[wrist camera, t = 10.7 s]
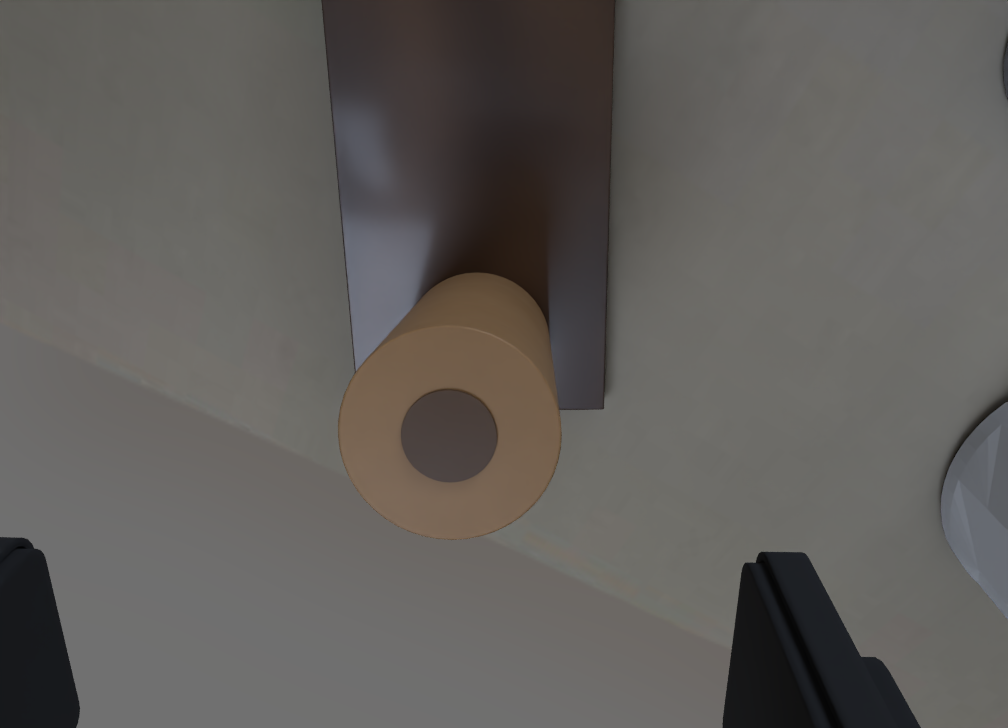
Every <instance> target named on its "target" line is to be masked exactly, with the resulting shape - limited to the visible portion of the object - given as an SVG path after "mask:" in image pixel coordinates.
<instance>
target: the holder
mask: <svg viewBox="0 0 1008 728" xmlns="http://www.w3.org/2000/svg"><path fill="white" fill-rule="evenodd" d="M322 10H323V21H324V33H325V44H326V55H327V66H328V77H329V88H330V99H331V110H332V122H333V133H334V144H335V155H336V166H337V177H338V188H339V199H340V210H341V222H342V233H343V244H344V255H345V266H346V277H347V288H348V299H349V311H350V322H351V333H352V344H353V355H354V366H355V373H356V371H357V370H358V368H359V367H360V366H361V365H362V364H363V362H364V361H365V360H366V359H367V358H368V356H369V355H370V354H371V353H372V352H373V351H374V350H375V349H376V348H377V347H378V346H379V344H380V343H381V342H382V341H383V340H384V339H385V338H386V337H387V336H388V335H389V333H390V332H391V331H392V330H393V329H394V328H395V327H396V326H397V325H398V324H399V322H400V321H401V320H402V319H403V318H404V317H405V316H406V315H407V314H408V313H409V311H410V310H411V309H412V308H413V307H414V306H415V305H416V304H417V303H418V302H419V300H420V299H421V298H422V297H423V296H424V295H425V294H426V293H427V292H428V291H429V290H430V289H431V288H433V287H434V286H436V285H437V284H439V283H440V282H442V281H444V280H446V279H448V278H451V277H453V276H456V275H460V274H465V273H476V272H477V273H488V274H494V275H497V276H500V277H504V278H506V279H508V280H510V281H512V282H514V283H515V284H517V285H519V286H520V287H521V288H523V289H524V290H525V291H526V292H527V293H528V294H529V295H530V296H531V297H532V298H533V299H534V300H535V302H536V303H537V305H538V306H539V307H540V309H541V311H542V313H543V315H544V317H545V320H546V323H547V326H548V331H549V336H550V344H551V351H552V359H553V367H554V374H555V382H556V389H557V397H558V404H559V410H588V409H604V387H605V350H606V314H607V277H608V241H609V204H610V168H611V132H612V95H613V59H614V22H615V0H322Z"/></svg>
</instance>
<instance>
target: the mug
mask: <svg viewBox="0 0 1008 728" xmlns="http://www.w3.org/2000/svg"><path fill="white" fill-rule="evenodd" d="M941 518H942V526H943V529H944V533H945V536H946V539H947V541H948V543H949V545H950V547H951V549H952V551H953V552H954V554H955V555H956V557H957V558H958V560H959V561H960V562H961V564H962V565H963V567H964V568H965V569H966V571H967V572H968V574H969V575H970V576H971V577H972V578H973V579H974V580H975V581H976V582H977V583H978V584H979V585H980V586H981V587H982V589H983V590H984V591H985V592H986V594H987V595H988V596H989V597H990V598H991V600H992V601H993V602H994V603H995V605H996V606H997V607H998V608H999V609H1000V611H1001V612H1002V613H1003V614H1004V616H1005V617H1006V618H1007V619H1008V402H1006V403H1004V404H1003V405H1002V406H1000V407H999V408H998V409H997V410H995V411H994V412H993V413H991V414H990V415H989V416H988V417H987V418H986V419H985V420H984V421H983V422H981V423H980V424H979V425H978V426H977V427H976V428H975V430H974V431H973V432H972V433H971V434H970V436H969V437H968V438H967V439H966V440H965V442H964V443H963V445H962V446H961V448H960V449H959V451H958V452H957V454H956V455H955V457H954V459H953V461H952V463H951V465H950V467H949V470H948V473H947V476H946V478H945V481H944V485H943V491H942V496H941Z"/></svg>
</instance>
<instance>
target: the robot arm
mask: <svg viewBox="0 0 1008 728" xmlns="http://www.w3.org/2000/svg"><path fill="white" fill-rule="evenodd" d="M79 712H80V706H79V700H78V696H77V691H76V688H75V683H74V679H73V675H72V670H71V666H70V661H69V657H68V653H67V648H66V644H65V640H64V636H63V632H62V627H61V623H60V618H59V615H58V610H57V606H56V601H55V597H54V593H53V588H52V584H51V580H50V576H49V571H48V567H47V563H46V559H45V556H44V554H43V553H42V551H40V550H38V549H34V547H33V545H32V543H31V542H30V541H29V540H28V539H25V538H7V537H0V728H76V726H77V724H78V719H79ZM723 728H921V727H920V726H919V724H918V722H917V720H916V718H915V717H914V715H913V713H912V711H911V710H910V708H909V706H908V704H907V702H906V701H905V699H904V697H903V695H902V693H901V692H900V690H899V688H898V686H897V685H896V683H895V681H894V679H893V677H892V676H891V674H890V672H889V670H888V669H887V668H886V666H885V665H884V663H883V662H882V661H880V660H879V659H877V658H876V657H861V656H860V654H859V652H858V651H857V649H856V647H855V645H854V643H853V641H852V639H851V637H850V635H849V633H848V632H847V630H846V628H845V626H844V624H843V622H842V620H841V618H840V616H839V615H838V613H837V611H836V609H835V607H834V605H833V603H832V601H831V599H830V597H829V596H828V594H827V592H826V590H825V588H824V586H823V584H822V582H821V580H820V579H819V577H818V575H817V573H816V571H815V569H814V567H813V565H812V563H811V562H810V560H809V558H808V557H807V555H806V554H805V553H800V552H761V553H759V555H758V557H757V560H756V563H745V564H744V565H743V568H742V573H741V581H740V589H739V597H738V605H737V612H736V620H735V628H734V636H733V644H732V652H731V660H730V668H729V675H728V683H727V691H726V699H725V707H724V715H723Z"/></svg>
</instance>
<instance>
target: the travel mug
mask: <svg viewBox="0 0 1008 728" xmlns="http://www.w3.org/2000/svg"><path fill="white" fill-rule="evenodd" d="M1003 79H1004V85H1005V90H1006V96H1007V98H1008V44H1007V49H1006V53H1005V58H1004V77H1003Z"/></svg>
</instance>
